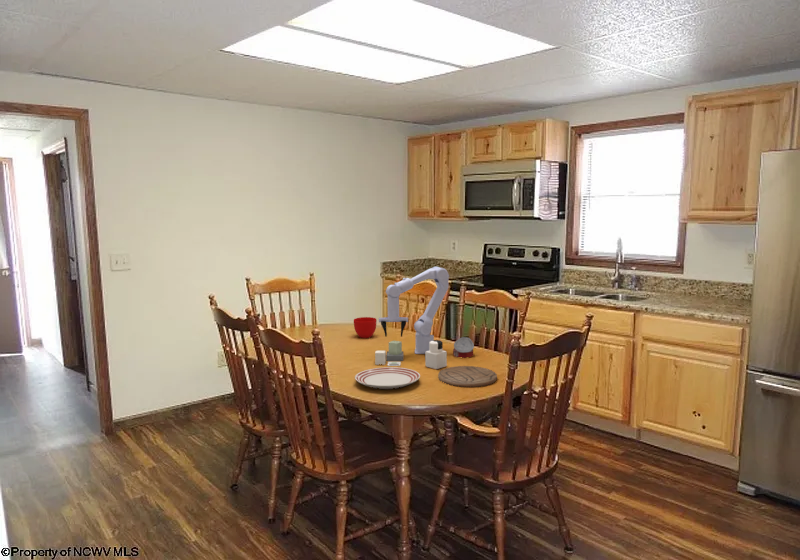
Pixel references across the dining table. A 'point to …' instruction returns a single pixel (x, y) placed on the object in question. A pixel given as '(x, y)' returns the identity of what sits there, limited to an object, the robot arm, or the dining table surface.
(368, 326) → the ceramic cup
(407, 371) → the dinner plate
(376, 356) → the offwhite block
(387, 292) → the robot arm
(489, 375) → the trivet
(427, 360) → the medicine bottle
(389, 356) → the base slab
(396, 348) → the sage block
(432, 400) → the dining table surface
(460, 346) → the canned food
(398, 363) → the card
